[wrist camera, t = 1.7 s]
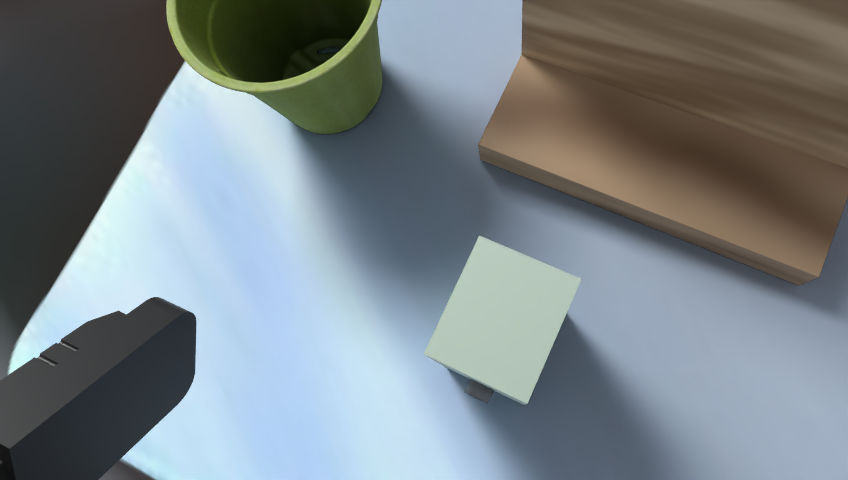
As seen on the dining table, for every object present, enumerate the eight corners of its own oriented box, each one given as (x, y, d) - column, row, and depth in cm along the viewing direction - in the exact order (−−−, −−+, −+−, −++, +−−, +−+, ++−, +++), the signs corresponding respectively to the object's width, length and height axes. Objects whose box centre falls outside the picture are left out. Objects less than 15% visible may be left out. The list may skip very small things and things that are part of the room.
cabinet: (518, 418, 37) (519, 421, 28) (440, 380, 38) (415, 370, 29) (564, 311, 38) (581, 278, 29) (487, 277, 39) (479, 235, 30)
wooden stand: (799, 285, 37) (980, 206, 22) (480, 159, 41) (462, 26, 27) (843, 164, 38) (1041, 17, 24) (530, 55, 43) (538, -124, 28)
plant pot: (220, 74, 46) (129, -29, 35) (359, -16, 46) (312, -147, 35) (301, 204, 42) (228, 134, 32) (450, 105, 43) (428, 2, 32)
